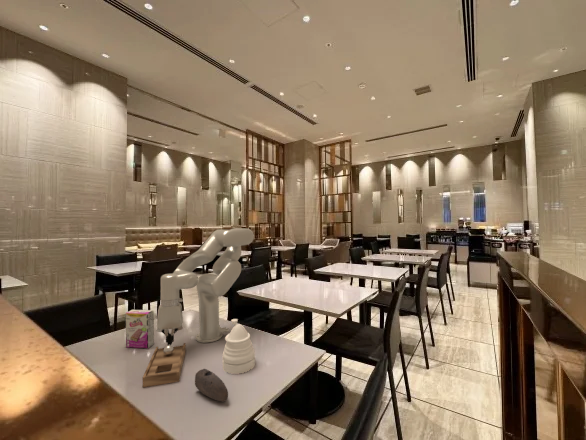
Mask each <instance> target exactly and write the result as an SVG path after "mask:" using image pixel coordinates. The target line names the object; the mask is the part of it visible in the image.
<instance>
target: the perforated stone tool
mask: <svg viewBox="0 0 586 440" xmlns="http://www.w3.org/2000/svg"><path fill="white" fill-rule="evenodd" d="M194 385H195V388H196V389H197V390H198V391H199V392H200V393H201V394H202V395H204V396H206V397H208V398H210V399H212V400H214V401H217V402H226V401H227V400H228V398H229V391H228V388H227V386H226V384H225V382H224V381H223V380H222V379H221V377H219V376H218V375H216V374H215V373H214V372H213V371H211V370H209V369H206V368H203V369H199V370H198V371H197V372H195V375H194Z"/></svg>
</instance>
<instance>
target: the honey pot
mask: <svg viewBox="0 0 586 440" xmlns="http://www.w3.org/2000/svg"><path fill="white" fill-rule="evenodd" d="M238 320H239V319H238V318H233V319H231V320H230V321H231V324H232V325H233V327H232V329H231V330H230V332H228V333H227V335H226V336H225V337H224V340H225V341H226V343H225V345H224V348H223V352H222V356H221V357H222V360H221V361H222V370H223V371H224V372H225V373H227V372H228V373H227V374H230V373H231V375H240V374H239V373H242V374H245V373H248V372H249V370H250V369H251V370H252V369H254V367H255V365H256V360H255V359H256V357H255V356H256V353H255V352H256V351H255V348H254V346H253V342H252V340H251V334H250V333H249V331H247V329H246V328H245V327H244V326H243V325H242V324H240V323H238V322H239V321H238ZM251 370H250V371H251ZM247 371H248V372H247ZM244 372H245V373H244Z"/></svg>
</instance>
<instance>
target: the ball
mask: <svg viewBox="0 0 586 440" xmlns="http://www.w3.org/2000/svg"><path fill="white" fill-rule="evenodd" d="M174 347H175V346H173V345H172V344H171V345H170V344H169V345H167V344H166V345H165V346H164V347H163V348H164V350H163V352H164V354H165V355H170V354H172V353H173V351H174Z"/></svg>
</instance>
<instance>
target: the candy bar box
mask: <svg viewBox="0 0 586 440" xmlns="http://www.w3.org/2000/svg"><path fill="white" fill-rule="evenodd" d="M124 314H125V348H129V349H130V348H132V349H150V348H151V347H152V346H153V345H154V344H155V327H154V326H155V323H154V320H155V318H154V317H155V316H154V315H155V314H154V310H151V309H131V310H129V311H127V312H125V313H124Z"/></svg>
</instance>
